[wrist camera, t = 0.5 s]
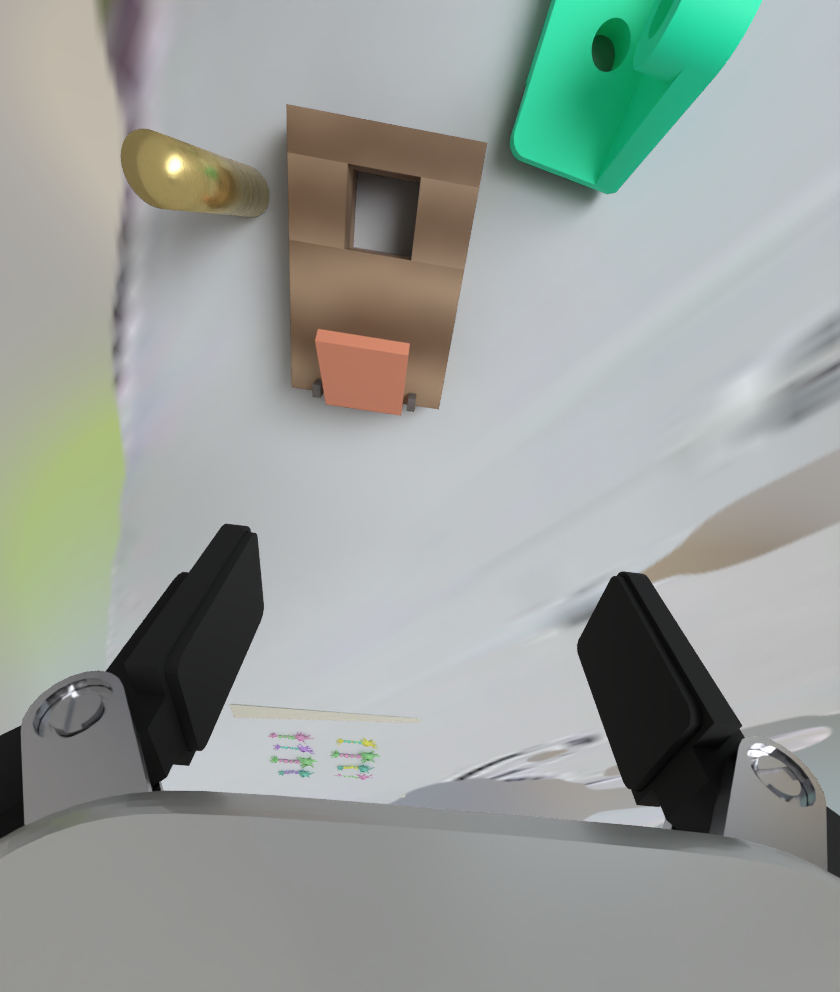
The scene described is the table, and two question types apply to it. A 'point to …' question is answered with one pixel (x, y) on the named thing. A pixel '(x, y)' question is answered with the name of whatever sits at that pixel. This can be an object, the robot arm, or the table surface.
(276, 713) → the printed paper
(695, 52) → the camera mount
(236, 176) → the brass pin
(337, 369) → the orange flat plate
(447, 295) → the hitch block
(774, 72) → the table surface
